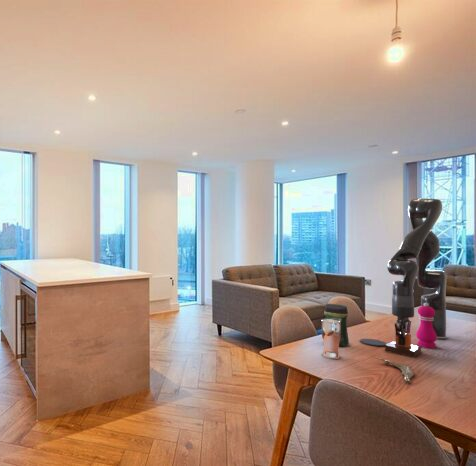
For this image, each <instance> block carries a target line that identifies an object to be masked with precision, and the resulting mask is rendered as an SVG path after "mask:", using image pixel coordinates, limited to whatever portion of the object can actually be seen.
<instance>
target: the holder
mask: <svg viewBox="0 0 476 466" xmlns="http://www.w3.org/2000/svg"><path fill="white" fill-rule="evenodd" d="M386 344H387V345H385V346H384V347H385V348H384V350H385V352H389V353H393V354H398V355H403V356H406V357H411V358H415V357H417V356H418V355H420V354H422V346H419V345H415V344H411V348H407V347H403V346H398V345H396V340H392V341H390V342H388V343H386Z"/></svg>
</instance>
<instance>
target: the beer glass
mask: <svg viewBox="0 0 476 466" xmlns="http://www.w3.org/2000/svg"><path fill="white" fill-rule="evenodd" d="M340 337H341V327H340V321H337V320H333V319H326V318H323V319H321V338H322V342H323V353H322V356H323V357H324V358H327V359H330V360H339V359H340V357H341V356H340V351H339V348H340V346H339V342H340Z"/></svg>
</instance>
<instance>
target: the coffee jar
mask: <svg viewBox="0 0 476 466" xmlns="http://www.w3.org/2000/svg"><path fill="white" fill-rule="evenodd" d="M323 313H324V316H325V319H333V320H337V321H340V327H341V337H340V342H339V347H347V346H349V344H350V342H349V341H350V340H349V333H348V322H347V321H348V320H347V319H348V318H349V317H348V316H349V310H348V306H347V305H344V304H338V303H326V304H325V305H324V309H323Z"/></svg>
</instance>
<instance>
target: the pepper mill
mask: <svg viewBox="0 0 476 466" xmlns="http://www.w3.org/2000/svg"><path fill="white" fill-rule="evenodd" d="M417 314H418V317H419V318H418V319H419V320H420V323H419V326H418V329H417V330H416V333H415V336H416V337H415V338H416V339H418V340H417V346H420V347H421V348H427V349H436V348H437V345H436V343H435V342H436V341H437V340H438V339H437V335H436V333H435V331H434V329H433V326H432V321H434V320H433V319H434V318H433V316H434V315H435V310H434V309H433V308H432V307H429V304H428V303H424V306H421V305H420V306H419V307H418V308H417Z"/></svg>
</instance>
